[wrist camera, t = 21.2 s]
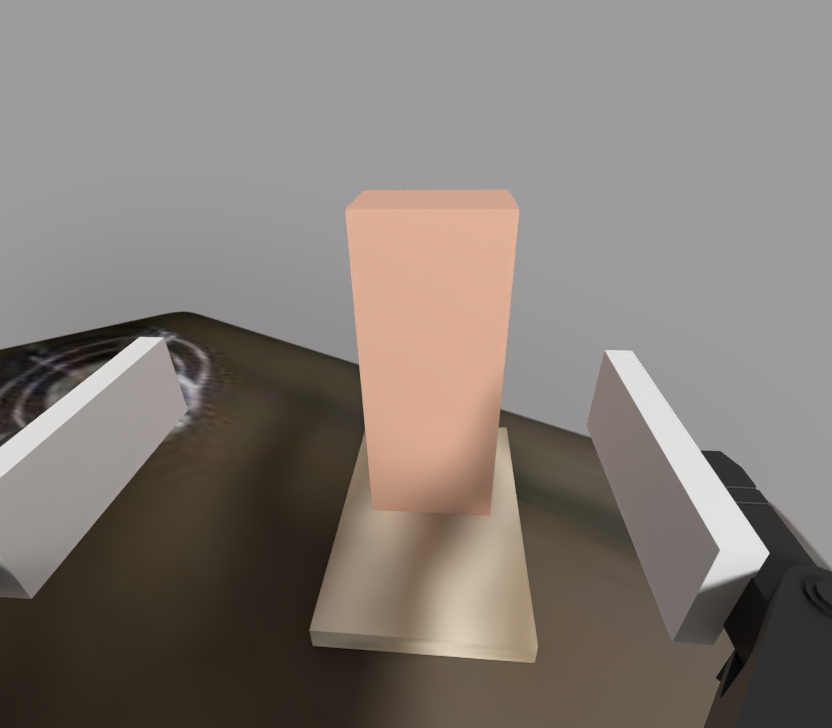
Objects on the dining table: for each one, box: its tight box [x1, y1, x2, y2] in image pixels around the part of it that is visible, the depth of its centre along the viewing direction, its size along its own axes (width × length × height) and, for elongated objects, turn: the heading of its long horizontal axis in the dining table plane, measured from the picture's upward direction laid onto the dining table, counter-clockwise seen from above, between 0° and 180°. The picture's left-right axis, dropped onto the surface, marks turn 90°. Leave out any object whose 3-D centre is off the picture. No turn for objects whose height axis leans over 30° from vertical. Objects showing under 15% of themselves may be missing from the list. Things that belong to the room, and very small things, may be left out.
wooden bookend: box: [309, 428, 538, 663], centre depth 29 cm, size 12×18×14 cm, turn 175°
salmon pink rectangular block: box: [345, 190, 519, 516], centre depth 28 cm, size 8×5×20 cm, turn 86°
